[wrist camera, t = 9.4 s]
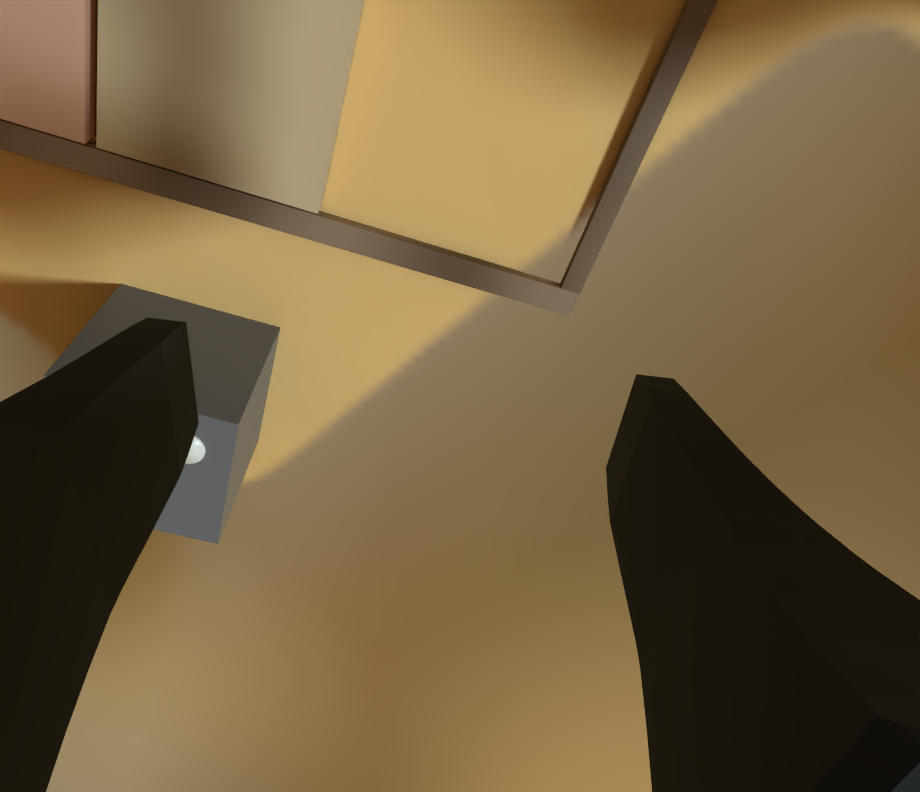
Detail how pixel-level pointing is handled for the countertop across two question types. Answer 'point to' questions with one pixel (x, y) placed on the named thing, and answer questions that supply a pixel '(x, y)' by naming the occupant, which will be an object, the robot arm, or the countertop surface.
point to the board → (252, 117)
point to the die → (201, 399)
